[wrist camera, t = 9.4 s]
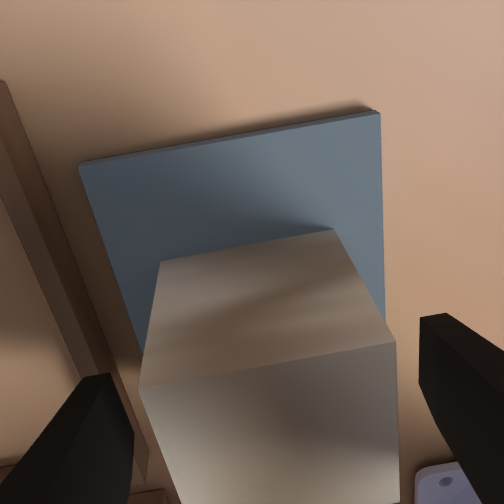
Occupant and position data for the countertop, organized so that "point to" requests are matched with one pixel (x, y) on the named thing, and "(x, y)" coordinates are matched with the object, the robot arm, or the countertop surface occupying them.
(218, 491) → the cube
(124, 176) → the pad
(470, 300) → the countertop surface
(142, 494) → the tray far
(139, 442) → the tray near
